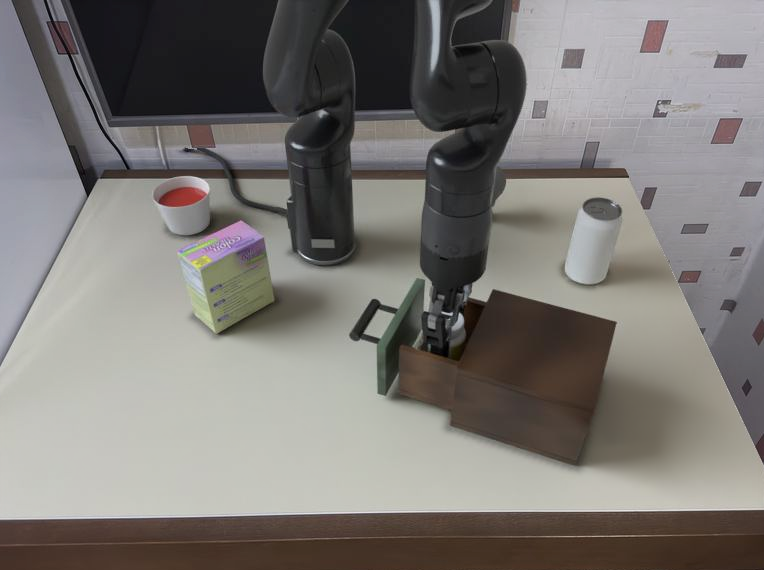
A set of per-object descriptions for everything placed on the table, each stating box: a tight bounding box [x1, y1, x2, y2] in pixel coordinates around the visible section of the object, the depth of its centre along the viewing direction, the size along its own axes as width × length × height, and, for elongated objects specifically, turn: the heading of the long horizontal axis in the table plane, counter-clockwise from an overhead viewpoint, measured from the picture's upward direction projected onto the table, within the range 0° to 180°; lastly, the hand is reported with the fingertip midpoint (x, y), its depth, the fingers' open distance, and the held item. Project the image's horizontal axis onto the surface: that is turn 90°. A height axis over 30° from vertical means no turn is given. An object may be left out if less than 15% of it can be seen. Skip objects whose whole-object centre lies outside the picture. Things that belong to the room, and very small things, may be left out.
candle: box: [151, 175, 211, 236], centre depth 110 cm, size 9×9×6 cm
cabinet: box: [449, 288, 618, 467], centre depth 83 cm, size 16×15×11 cm
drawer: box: [348, 277, 487, 411], centre depth 87 cm, size 20×14×9 cm
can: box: [564, 196, 623, 286], centre depth 101 cm, size 6×6×12 cm
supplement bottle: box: [427, 312, 466, 361], centre depth 86 cm, size 5×5×8 cm
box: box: [176, 220, 276, 335], centre depth 94 cm, size 10×6×12 cm, turn 135°
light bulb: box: [492, 165, 507, 208], centre depth 112 cm, size 6×6×10 cm
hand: (446, 342), depth 85 cm, fingers closed on supplement bottle, 4 cm apart
